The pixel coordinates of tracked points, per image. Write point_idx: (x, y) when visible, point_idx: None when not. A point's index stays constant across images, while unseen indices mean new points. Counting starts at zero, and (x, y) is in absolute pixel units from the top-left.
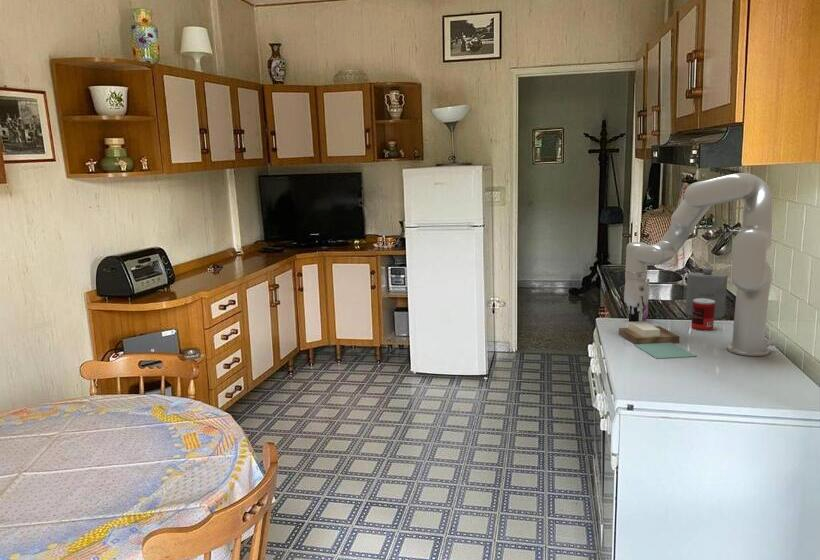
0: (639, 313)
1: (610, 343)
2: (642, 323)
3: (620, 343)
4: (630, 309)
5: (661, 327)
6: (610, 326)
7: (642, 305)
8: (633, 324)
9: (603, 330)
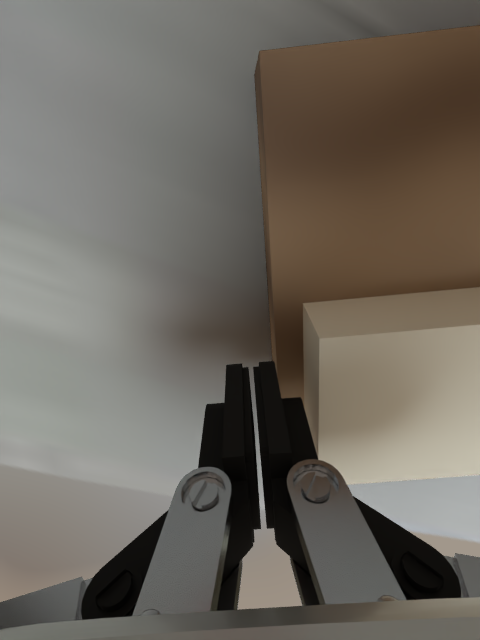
0: (340, 474)
1: (450, 522)
2: (425, 389)
3: (471, 483)
4: (235, 597)
5: (335, 57)
6: (48, 430)
7: (396, 622)
8: (431, 476)
9: (166, 490)
